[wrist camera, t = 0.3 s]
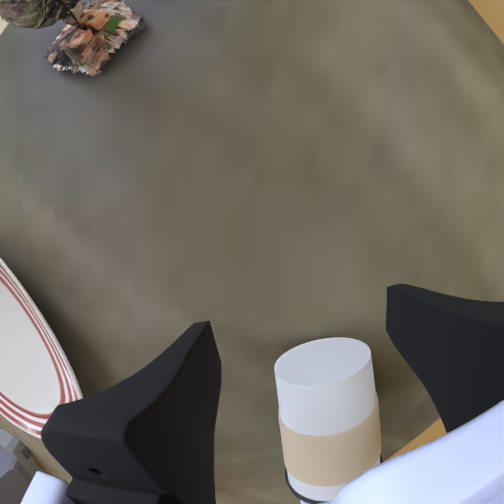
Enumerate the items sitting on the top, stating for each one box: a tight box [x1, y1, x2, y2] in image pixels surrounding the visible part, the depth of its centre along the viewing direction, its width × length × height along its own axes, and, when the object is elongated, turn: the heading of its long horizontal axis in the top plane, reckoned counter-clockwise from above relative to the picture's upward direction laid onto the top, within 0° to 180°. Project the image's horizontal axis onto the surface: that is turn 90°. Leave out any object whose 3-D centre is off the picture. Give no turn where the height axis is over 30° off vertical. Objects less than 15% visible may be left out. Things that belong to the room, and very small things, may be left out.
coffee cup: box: [274, 337, 382, 504], centre depth 19 cm, size 9×9×15 cm
